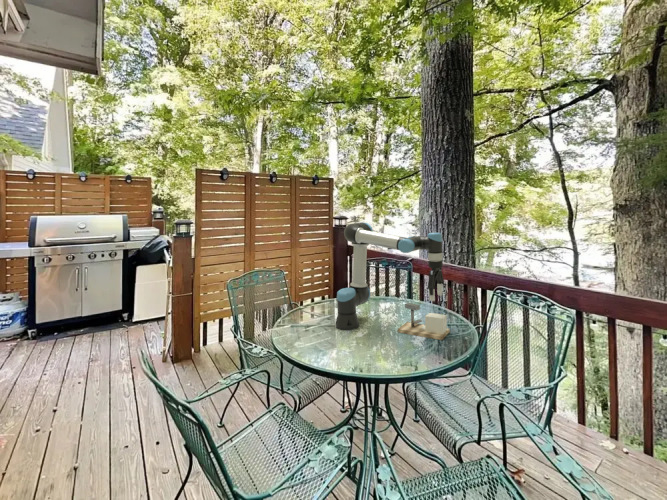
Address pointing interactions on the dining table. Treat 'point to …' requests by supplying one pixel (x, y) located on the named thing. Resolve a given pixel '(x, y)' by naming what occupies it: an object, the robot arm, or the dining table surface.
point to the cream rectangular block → (435, 323)
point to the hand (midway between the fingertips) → (436, 297)
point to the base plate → (420, 331)
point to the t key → (413, 307)
